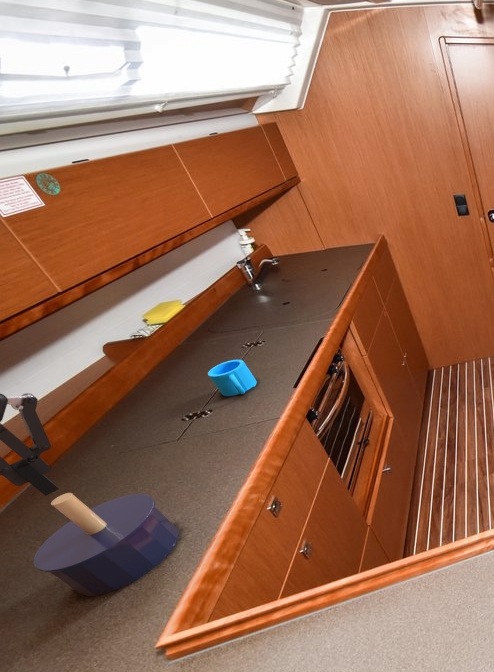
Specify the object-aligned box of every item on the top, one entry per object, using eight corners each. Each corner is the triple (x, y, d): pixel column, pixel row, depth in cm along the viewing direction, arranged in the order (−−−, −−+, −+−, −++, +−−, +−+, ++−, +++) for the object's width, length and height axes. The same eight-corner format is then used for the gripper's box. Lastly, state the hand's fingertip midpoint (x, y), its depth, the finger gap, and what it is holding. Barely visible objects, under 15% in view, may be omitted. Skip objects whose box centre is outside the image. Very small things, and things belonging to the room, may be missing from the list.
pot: (68, 575, 78) (29, 548, 73) (163, 516, 89) (134, 488, 84) (94, 610, 73) (55, 582, 68) (192, 542, 83) (163, 514, 79)
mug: (220, 390, 125) (205, 369, 121) (253, 376, 130) (240, 356, 126) (229, 406, 118) (213, 385, 114) (263, 391, 124) (250, 370, 120)
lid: (26, 551, 73) (-21, 517, 68) (140, 486, 85) (106, 453, 80) (54, 589, 68) (4, 556, 63) (171, 514, 79) (137, 481, 74)
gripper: (-163, 423, 51) (-8, 531, 63) (6, 365, 61) (112, 468, 73) (-170, 406, 54) (-20, 512, 66) (-8, 353, 64) (97, 454, 76)
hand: (49, 489), depth 70 cm, fingers closed
